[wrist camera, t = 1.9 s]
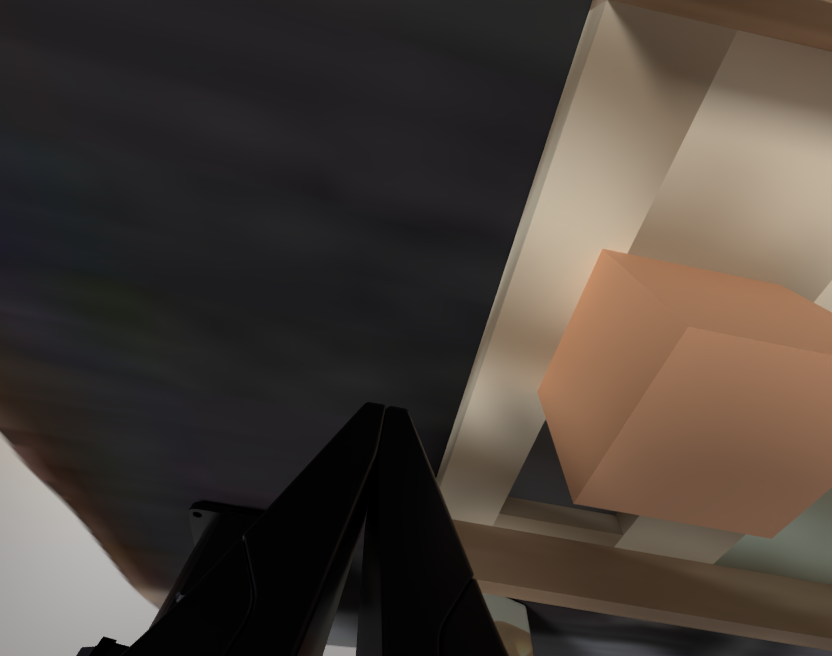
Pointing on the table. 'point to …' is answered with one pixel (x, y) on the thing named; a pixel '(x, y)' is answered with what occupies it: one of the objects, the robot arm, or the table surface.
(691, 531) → the tray
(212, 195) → the table surface
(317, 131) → the table surface
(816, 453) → the rust block
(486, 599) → the skincare box
